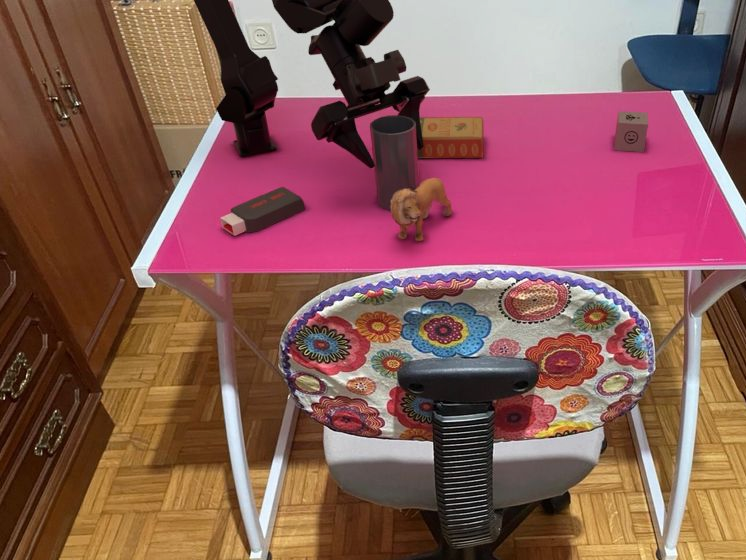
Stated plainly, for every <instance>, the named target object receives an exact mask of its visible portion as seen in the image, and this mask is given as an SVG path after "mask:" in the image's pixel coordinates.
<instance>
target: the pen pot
mask: <svg viewBox="0 0 746 560" xmlns="http://www.w3.org/2000/svg"><path fill="white" fill-rule="evenodd" d="M369 131H370V142H371V143H370V144H371V150H372V151H371V152H372V159H373V162H374V164H375V166H374V167H373V172H374V182H375V192H376V200H377V204H378V206H380V207H381V208H382V209H384V210H387V211H391V208H390V206H391V199H392V197H393V195H394V193H395V192H397V191H398V190H400V189H403V188H405V189H409V188H410V189H412V190H413V191H414V190H415V189H417V188H418V187H419V186H420V172H419V158H418V153H417V135H416V122H415V121H414V120H413V119H412V118H409V117H406V116H400V115H398V114H394V115H390V114H389V115H384V116H380V117H377V118H376V119H373V120H372V121H371V122H370V123H369Z"/></svg>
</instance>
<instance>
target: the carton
mask: <svg viewBox="0 0 746 560" xmlns="http://www.w3.org/2000/svg"><path fill="white" fill-rule="evenodd" d="M420 125H421V131H422V137H423V144H424V148H423V149H422V150H419V149H418V148H417V153H418V159H439V158H440V159H457V158H459V159H462V158H464V159H466V158H468V159H469V158H470V159H475V158H477V159H478V158H483V157H484V117H483V116H433V117H432V116H420Z"/></svg>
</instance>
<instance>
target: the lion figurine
mask: <svg viewBox="0 0 746 560" xmlns="http://www.w3.org/2000/svg"><path fill="white" fill-rule="evenodd" d="M433 201H436V202H437V203H439V204H440V205H441V206H444V207H445V210H444V211H443V215H444V216H446V217H450V216H452V202H451V199H449V198H448V196H447V194H446V188H445V184H444V183H443V181H442V180H441V179H440V178H438V177H433V178H426V179H424V180H423V181H422V182H421V183H420V184H419V187H418V188H417V189H415V190H414V191H413V190H412V189H410V188H409V189H405V188H403V189H400V190H398V191H397V192H395V193H394V195H393V197H392V199H391V206H390V208H391V210H390V213H391V217H392V219H393V220H394V222H395V223H396V224H397V225H398V226H399V229H400V232H399V233H398V235H397V237H398V239H400V240H405V239H406V238H407V235H408V228H410V227H412V226H414V225H415V230H414V236H415V237H414V241H416V242H423V241H424V233H423V222H424V221H423V220H424V219H427V218H428V216H429V213H430V211H431V208H432V202H433Z"/></svg>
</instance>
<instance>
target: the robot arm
mask: <svg viewBox="0 0 746 560" xmlns="http://www.w3.org/2000/svg"><path fill="white" fill-rule="evenodd" d="M193 2H194V5H195V6H196V8H197V11H198V12H199V15H200V17H201V19H202V22H203V23H204V26H205V27H206V30H207V32H208V34H209V37H210V38H211V41H212V43H213V45H214V46H215V50H216V52H217V54H218V56H219V58H220V61H221V62H220V82H221V85H222V89H223V91H224V94H225V95H224V97H222V99H221V101H220V102H219V103H218V105H217V106H216V112H217V114H218V116H219V117H220V119H221V121H223V122H228V123H231V124H233V129H234V133H235V138H236V139H235V140H233V141H232V142H233V143H232V144H233V146H234V147H235V149H236V151H237V153H238V155H239V157H240V158H246V157H250V156H256V155H261V154H266V153H271V152H276V151H277V150H278V146H277V145H276V143H275V141H274V140H273V139H272V137H271V135H270V131H269V125H268V119H267V114H266V112H267V111H268V110H270V109H273V108H274V107H275V102H276V98H277V96H278V92H279V85H278V83H277V81H278V80H279V78H278V76H277V75H276V74H275V71H274V70H273V67H272V65H271V61H270V59H269V58H268V56H266V55H264V56H262V57H260V56H259V55H258V54H257V53H256V52H254V51H253V50H252V49H251V48H250V45H249V44H248V41H247V39H246V37H245V34H244V32H243V29H242V28H241V26H240V24H239V21H238V19H237V16H236V15H235V12H234V10H233V7H232V6H231V3H230V0H193ZM271 2H272V6H273V9H274V10H275V11H276V13H277V14H278V16H280V18H281V19H282V20H283V21H284V23H285V24H286V25H287V27H288V28H289V29H290V30H291V31H293V32H294V33H296V34H298V35H299V34H307V33H310V32H312V31H314V30H316V29H318V28H321V27H323V26H324V27H323V28H322V30H321V31H320V32H319V33H318V34H315V35H313V34H312V35H311V36H310V44H309V45H308V50H307V52H308V53H307V54H308V55H309V56H315V55H316V56H317V55H321V57H322V58H323V60H324V62H325V64H326V66H327V68H328V70H329V71H330V73H331V76H332V78H333V80H334V81H333V83H332V87H333V88H334V90H335V91H339V90H340V92H341V94H342V96H343V98H344V100H345V101H346V102H344V101H341V100H337V101H334V102H331V103H327V104H325V105H321V106H320V107H319V108H318V110H317V111H316V113H315V115H314V117H312V119H311V123H310V128H311V131H312V134H313V135H314V137H315V139H316V140H317V141H322V140H324V139H325V141H326V142H327V143H328V144H329V143H333V144H335V145H337V146H338V147H340V148H341V149H343V150H345V151H346V152H348V153H349V154H350V155H352V156H353V157H354V158H355V159H357V160H358V161H360V162H361V163H362V164H363V165H364V166H366V167H367V168H369V169H370V170H372V169H374V166H375V164H374V162H373V156H372V155H371V153H370V152H369V150H368V148H367V146H366V145H365V142H364V141H363V139H362V137H361V135H360V134H359V132H358V129H357V125H356V119H358V118H361V117H365V116H368V115H370V114H374V113H376V112H380V111H383V110H385V109H388V108H392V109H393V110H394V111H396V112H398V113H397V115H400V116H406V117H409V118H412V119H413V120H414V121H415V122H416V135H417V148H418V149H419V150H422V149H423V148H424V144H423V137H422V131H421V125H420V117H421V116H420V109H421V104H422V103H423V101H424V100H425V99H426V95H427V94H428V93H429V91H431V89H430V87H429V85H428V84H427V82H426V79H424V77H422V76H420V75H415V76H412V77H409V78H406V79H404V80H401V77H400V75H401V74H402V73H405V72H406V71H407V64H406V60H405V58H404V57H403V55H402V54H401V52H400V50H399V49H395V50H391V51H388V52H387V53H386V52H385V53H384V54H383V60H381V61H377V62H376V61H375V59H374V58H373V57H372V56H369V57H366V55H365V53H364V51H363V49H362V47H367V46H369V45H371V43H372V42H373V41H374V40H375V39H376V38H377V37H378V36H380V34H381V33H382V32H383V30H384V29H385V28H386V27H387V26H388V25H389V24H390V23H391V22H392V21H393V19H394V8H393V5H392V3H391V2H390V0H271ZM331 22H334V23H333V24H331V25H327V24H328V23H331ZM325 25H326V26H325ZM392 82H393V83H396V82H398V84H397V85H396V87H395V88H394V90H393V91H391V92H389V93H385V92H386V91H388V90H389V89H390V88H391V86H392V85H391V83H392ZM346 103H347V104H346Z"/></svg>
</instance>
